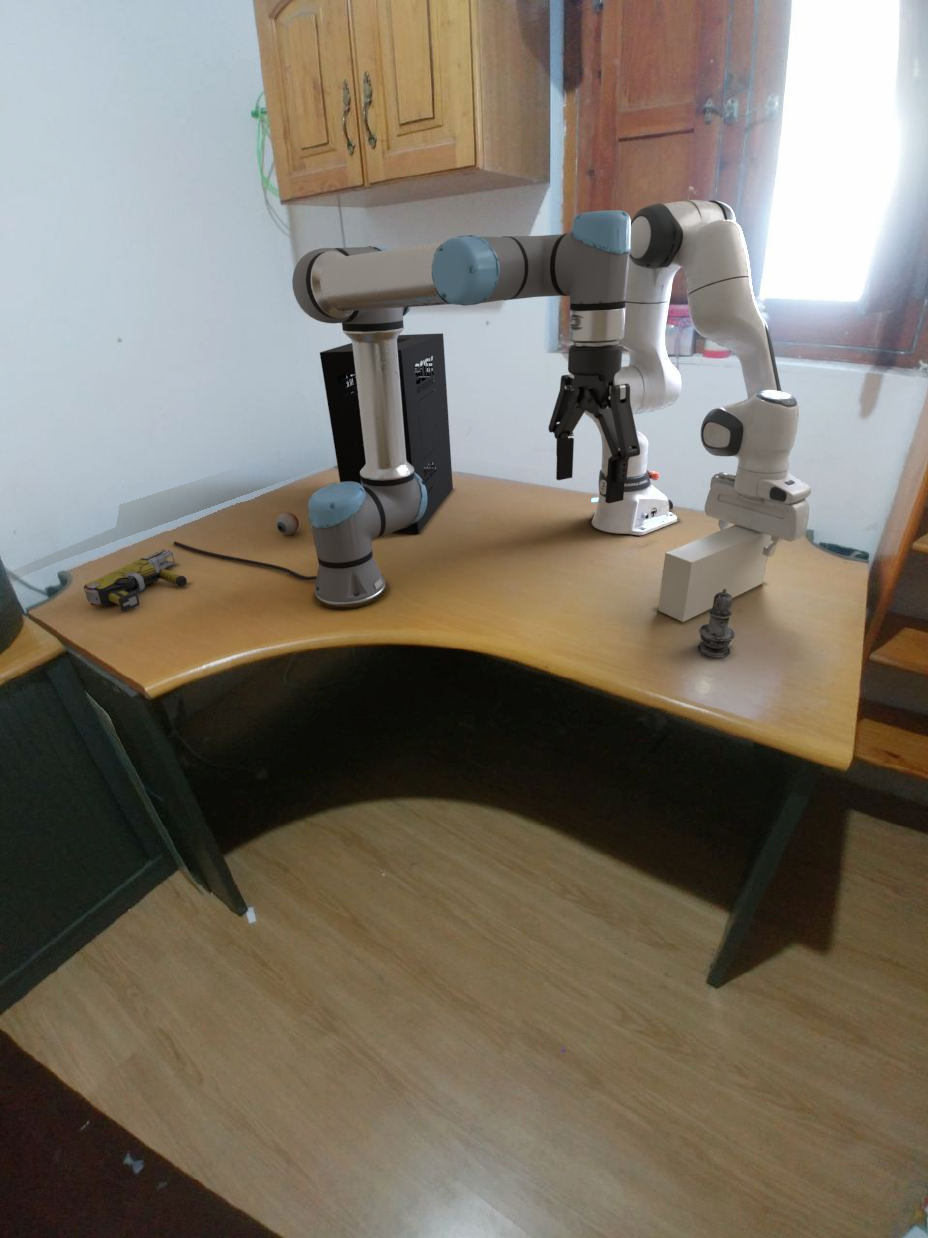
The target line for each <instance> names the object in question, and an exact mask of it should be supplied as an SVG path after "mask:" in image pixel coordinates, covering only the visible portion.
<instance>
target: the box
mask: <svg viewBox="0 0 928 1238" xmlns="http://www.w3.org/2000/svg"><path fill="white" fill-rule="evenodd" d="M772 543H773V541H771V536H770V535H767V534H764V533H761V532H757V531H754V530H751V529H748V528H745V527H741V526H738V525H735V524H732V525H731V526H729V527H728V528H726V529H723V530H719V531H716V532H714V533H711V534H709V535H706V536H704V537H701V538H699V539H696V540H693V541H691V542H688V543H686V544H683V545H680V546H678V547H676V548H673V549H670V550H668V551H666V552H665V553H664V560H663V568H662V576H661V586H660V592H659V600H658V609H657V611H658V612H661V613H663V614H665V615H667V616H669V617H670V618H673V619H675V620H677V621H679V622H682V623H683V622H687V621H688V620H690V619H692V618H695V617H697V616H699V615H701V614H702V613H705V612H707V611H710V609H712V607H713V601H714V597H715V595H716V594H717V593H720V592H723V590H724V589H726V590H727V592H726V593H728V594H730V595H731V596H732V599H735V598H736V597H738V596H740V595H742V594H744V593H745V592H748V591H751V590H752V589H755V588H756V587H759V586H760V585H762V584H764V583H763V582H764V578H765V573H766V569H767V564H768V559H769V556H766V555H763V554H762V553H763V548H764V547H765V546H767V545H771V544H772Z"/></svg>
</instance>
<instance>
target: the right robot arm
mask: <svg viewBox="0 0 928 1238" xmlns="http://www.w3.org/2000/svg"><path fill="white" fill-rule="evenodd" d="M630 220H631V230H630V248H631V253H630V255H629V265H628V276H627V288H626V299H625V307H626V310H625V327H624V338H622V339H621V340H619V343H620V344H621V346H623V349H625V350H627V351H628V354H629V363H628V365H627V366H625V365H624V366H621V370H620V371H619V372H618V373H616V374H615V376H614V381H615V385H621V384H629V385H630V403H631V408H632V413H633V415H639V414H646V413H654V412H657V411H661V410H663V409H666V408H668V407H670V406H672V405H673V404H675V403H676V402H677V400H678V399H679V397H680V394H681V391H682V385H683V384H682V376H681V373H680V372H679V370H678V368H676V367H675V365H673V364H672V362H671V360H670V358H669V357H668V352H667V348H666V328H667V321H668V313H669V306H670V301H671V294H672V288H673V281H674V277H675V275H676V274H677V272H678V271H679V270H680V269H682V270H683V272H684V274H685V280H686V281H685V282H686V293H687V294H686V295H687V306H688V307H687V308H688V313H689V314H688V315H689V318H690V321H691V324H692V327H693V329H694V330H695V332H696V333H698V334H699V335H700V336H701V337H702V338H704V339H706V340H708V341H710V342H713V343H716V344H718V345H721V346H723V347H725V348H727V349H728V350H730V351H731V352H732V353H733V354H735V356H736V358H737V359H738V361H739V363H740V366H741V372H742V376H743V380H744V386H745V390H746V395H747V398H746V399H744V400H741V401H737V402H735V403H732V404H725V405H721V406H718V407H716V408H713V409H711V410H710V411H709V412H708V413H707V414H706V415H705V417H704V419H703V421H702V423H701V426H700V441H701V444H702V446H703V448H704V449H705V450H706V452H707V453H709V454H710V455H712V456H716V457H735V458H737V460H738V461H737V466H736V471H735V474H731V473H726V472H723V471H719V472H718V473H715V474H714V475H712V477H711V479H710V484H709V491H708V493H707V495H706V496H707V497H706V500H705V503H704V510H703V511H704V513H705V515H706V517H709V518H713V519H716V520H718V523H717V524H718V527H719V531H721V530H723V529H726V528H728V527H730V526H729V524H732V525H738V526H741V527H745V528H748V529H751V530H754V531H757V532H761V533H764V534H767V535H770V536H771V541H772V542H771V545H767V546H765V547H764V548H763V553H762V554H763V555H766V556H768V558H770V557H772V556H774V554H775V552H776V549H777V547H778V546H779V545H780V544H781V543H782V542H783V541H786V542H789V543H790V542H791V543H792V542H795V541H797V540H799V539H801V538H803V536H805V535H806V532H807V528H808V524H809V518H810V504H809V502H808V500H807V498H808V497H810V496H811V493H812V487H811V486H810V485H809V484H807V483H806V482H804V481H803V480H800V479H799V478H798V477H796V476H794V475H792V473H790V472H789V468H790V460H789V456H790V454H791V451H792V449H793V448H794V445H795V441H796V436H797V431H798V425H799V418H800V417H799V415H800V408H799V402H798V400H797V399H796V398H795V396H793V395H792V394H790V393H788V392H785V391H782V386H781V382H780V377H779V373H778V367H777V362H776V356H775V352H774V347H773V342H772V337H771V334H770V330H769V327H768V324H767V321H766V320H765V318H764V316H762V314H761V313H760V311H759V308H758V305H757V302H756V300H755V299H756V298H755V296H754V292H753V291H754V290H753V285H752V276H751V266H750V259H749V253H748V249H747V244H746V241H745V237H744V234H743V231H742V228H741V226H740V225H739V224H738V223H737V222H736V215H735V213H734V211H733V209H732V208H731V206H729V205H728V204H726V203H725V202H722V201H718V200H713V199H712V200H701V199H683V200H681V201H673V202H667V203H666V202H665V203H660V202H656V203H653V204H650V205H647V206H645V207H643V208H641V209H639V210H638V211H637V212H636V213H635V214H634V215H633V217H632V219H630ZM607 408H608V406H607ZM584 415H586V416H587V417H588V418H590V419H591V420H592V421H593V422H594V423H595V426H596V427H597V429H598V431H599V435H600V439H601V468H600V470H599V474H598V492H599V493H598V496H597V497H592V498H591V503H596V507H595V511H594V514H593V517H592V520H591V525H592V526H593V527H594V528H595V529H597V530H599V531H601V532H605V533H611V534H623V535H625V534H626V535H632V536H633V535H634V536H645V535H646V534H650V533H652V532H654V531H657V530H660V529H662V528H665V527H668V526H670V525H672V524H675V523H677V522H678V516H677V515H676V514H675V513H674V512H672V511H670V510H673V509H674V504H673V501H672V500H671V499H669V498H668V497H667V496H666V495H665V494H664V493H663V492H661V491H660V490H659V489H658V488H656V487H655V486H654V485H652V483H651V480H653V481H658V479H659V478H660V473H659V472H657V471H654V470H651V471H649V470H648V469H647V466H648V458H649V457H648V455H649V447H650V443H649V440H648V438H647V437H646V435H645V434H644V433H643V432H641V431H639V430H638V429H636V432H637V437H638V442H639V447H640V455H639V456H634V457H630V458H629V460H628V470H627V479H626V481H625V486H624V498H623V500H622V501H618V502H613V503H609V504H608V503H606V502H605V500H606V485H607V471H608V459H609V458H610V457H611V456H612V454H611V451H610V449H609V446H608V443H607V441H606V438H605V435H604V433H603V430H602V428H601V425H600V422H599V420H598V419H596V418H595V417H594V414H592V413H589V412H588V411H585V412H584ZM630 448H631V447H630ZM618 449H619V451H620V448H618Z"/></svg>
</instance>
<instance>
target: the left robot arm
mask: <svg viewBox="0 0 928 1238" xmlns="http://www.w3.org/2000/svg"><path fill="white" fill-rule="evenodd" d="M631 220H632V219H631V216H630V214H629V213H628V212H627V211H624V210H619V209H613V210H595V211H587V212H583V213H582V212H581V213H577V214H576V215H575V216H574V218H573V220H572V226H571V231H570V232H566V233H562V234H546V235H544V234H543V235H510V236H508V235H504V236H477V235H475V234H474V235H473V234H470V235H459V236H455V237H451V238H448V239H446V240H445V241H439V242H431V243H425V244H419V245H412V246H405V247H398V248H388V247H381V246H380V247H379V246H372V245H369V246H356V247H355V246H354V247H353V246H351V247H321V248H316V249H313V250H311V251H309V252H307V253H305V254H304V255H303V256H302V257H301V258H300V259H299V260H298V261H297V262H296V265H295V267H294V269H293V274H292V281H291V282H292V283H291V285H292V291H293V296H294V298H295V300H296V303H297V304H298V306H299V307H300V309H302V311H303V312H304V313H305V314H306V315H307V316H309V317H310V318H312V319H314V320H315V321H317V322H319V323H320V322H321V323H323V324H324V323H325V324H341V327H342V329H341V330H342V333H343V334H344V335H345V336H347V337H348V338H349V339H350V341H351V343H352V346H353V354H354V363H355V372H356V377H355V378H356V381H357V389H358V398H359V407H360V415H361V424H362V433H363V441H364V450H365V459H366V464H365V466H364V467H363V468H362V469H361V470H360V478H361V484H359V483H357V482H352V481H346V482H340V481H339V482H338V483H336V482H333V483H330V484H328V485H325V486H323V487H321V488H319V489H317V490H316V491H315V492H313V494H312V495H311V496H310V497H309V500H308V504H307V506H308V508H307V509H308V521H309V524H310V527H311V531H312V537H313V543H314V546H315V552H316V557H317V558H316V559H317V562H318V567H317V568H318V569H317V574H316V575H312V576H307V575H302V574H299V573H297V572H295V571H293V570H291V569H289V568H287V567H283V566H280V565H275V564H271V563H267V562H261V561H256V560H253V559H245V558H241V557H235V556H230V555H226V554H220V553H216V552H212V551H206V550H203V549H199V548H195V547H193V546H189V545H186V544H185V543H184V544H183V543H181V542H178V541H174V542H173V545H175V546H178V547H179V548H180V547H181V548H183V549H186V550H188V551H193V552H195V553H198V554H203V555H207V556H211V557H215V558H220V559H225V560H230V561H235V562H240V563H246V564H251V565H255V566H260V567H265V568H270V569H275V570H279V571H282V572H285V573H288V574H290V575H292V576H293V577H296V578H298V579H301V580H305V581H313V580H314V581H315V584H314V585H315V587H314V594H315V598H316V601H317V603H318V604H320V606H322V607H325V608H329V609H333V610H334V609H335V610H349V609H351V610H352V609H358V608H361V607H365V606H368V605H371V604H373V603H375V602H378V600H380V599H381V598H382V597H383V596H384V595H385V593H386V591H387V585H386V579H385V577H384V576H383V574H382V572H381V570H380V567H379V566H378V564H377V561H376V560H375V557H374V553H373V544H372V542H373V541H375V540H377V539H379V538H382V537H384V536H387V535H389V534H392V532H395V531H397V530H399V529H404V528H407V527H408V526H410V525H411V524H413V523H415V522H417V521H418V520H419V519H420V518H421V517H422V516H423V514H424V512H425V510H426V507H427V491H426V487H425V485H422V479H421V478H420V476H419V475H417V474H416V473H415V472H414V467H413V466H412V465H411V464H409V463H408V462H407V461H406V450H405V437H404V425H403V412H402V400H401V387H400V375H399V362H398V350H397V338H398V336H399V335H401V334H402V332H403V331H404V329H405V326H404V317H405V316H406V315H407V314H408V313H409V312H410V311H411V309H412V308H415V307H430V306H431V307H432V306H447V305H454V306H455V305H456V306H463V307H465V306H466V307H467V306H475V305H479V304H486V303H493V302H500V301H511V300H520V299H522V300H523V299H529V298H544V297H569V311H570V313H569V335H568V340H569V341H570V342H572V343H573V344H571V345H570V346H569V348H568V352H567V353H568V355H567V371H568V374H562V375H561V377H560V383H559V391H558V394H557V398H556V401H555V405H554V406H553V407H554V408H553V411H552V414H551V418H550V421H549V424H548V432H549V433H553V436H554V438H555V440H556V446H555V447H556V451H555V454H556V471H555V472H556V474H555V480H557V481H562V480H567V479H573V474H574V473H573V471H574V450H575V449H574V448H575V447H574V446H575V445H574V444H575V438H574V436H575V434H574V431H575V429H576V427H577V425H578V424H579V422H580V420H581V419H582V417H583V416H584V415H585V413H584V412H585V411H588V412H589V413H592V414H594V417H595V418H596V419H598V420H599V422H600V425H601V428H602V430H603V433H604V435H605V438H606V441H607V443H608V446H609V449H610V451H611V454H612V456H611V457H610V458H609V459H608V471H607V485H606V500H605V502H606V503H608V504H609V503H613V502H618V501H622V500H623V498H624V486H625V481H626V479H627V470H628V460H629V458H630V457H634V456H639V455H640V447H639V442H638V437H637V432H636V430H637V428H636V424H635V418H634V414H633V413H632V408H631V403H630V385H629V384H621V385H615V381H614V376H615V374H616V373H618V372H619V371H620V370H621V367H622V363H623V362H622V360H623V349H624V347H623V346H621V344H620V343H619V340H621V339H622V338H624V327H625V310H626V307H625V299H626V288H627V276H628V265H629V255H630V253H631V248H630V230H631ZM607 406H608V408H607ZM630 447H631V448H630ZM618 448H620V451H619V449H618Z"/></svg>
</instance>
